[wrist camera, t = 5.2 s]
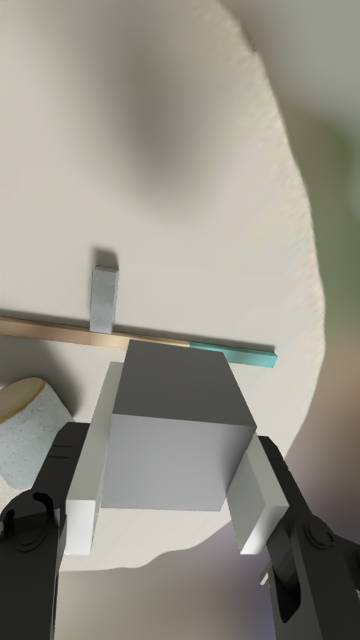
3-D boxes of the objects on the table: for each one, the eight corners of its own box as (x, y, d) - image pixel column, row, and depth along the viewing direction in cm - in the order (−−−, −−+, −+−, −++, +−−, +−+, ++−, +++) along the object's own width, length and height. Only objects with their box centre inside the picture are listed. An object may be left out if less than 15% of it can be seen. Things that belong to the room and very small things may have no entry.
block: (119, 412, 14) (100, 507, 10) (129, 339, 12) (111, 413, 8) (201, 420, 15) (219, 511, 10) (222, 351, 13) (256, 426, 8)
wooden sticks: (7, 461, 31) (3, 467, 30) (-14, 314, 23) (-19, 318, 22) (226, 473, 35) (227, 479, 35) (274, 352, 27) (277, 356, 26)
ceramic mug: (54, 363, 26) (12, 419, 19) (90, 416, 29) (66, 480, 22) (-32, 392, 27) (-102, 455, 20) (13, 440, 30) (-34, 509, 23)
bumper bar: (93, 324, 24) (89, 331, 23) (96, 265, 22) (92, 269, 21) (113, 327, 25) (111, 333, 23) (118, 269, 22) (116, 273, 21)
